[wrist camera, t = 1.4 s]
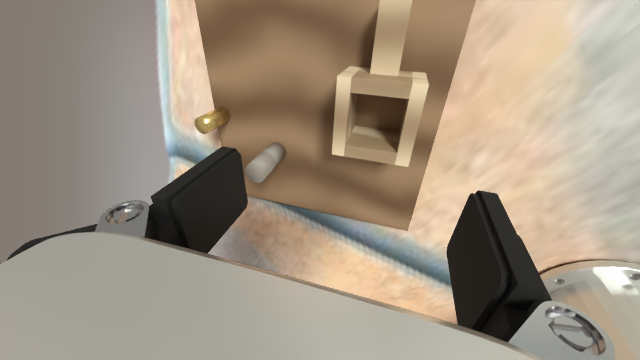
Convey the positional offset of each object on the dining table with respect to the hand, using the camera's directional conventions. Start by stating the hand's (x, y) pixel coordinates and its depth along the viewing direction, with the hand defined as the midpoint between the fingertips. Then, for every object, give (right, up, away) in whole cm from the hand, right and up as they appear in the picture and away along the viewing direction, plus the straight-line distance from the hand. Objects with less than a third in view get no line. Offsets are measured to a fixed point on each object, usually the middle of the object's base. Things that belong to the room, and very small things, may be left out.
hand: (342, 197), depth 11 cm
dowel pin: (-11, +8, +17) cm, 21 cm away
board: (-1, +7, +15) cm, 17 cm away
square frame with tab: (+4, +9, +10) cm, 14 cm away
